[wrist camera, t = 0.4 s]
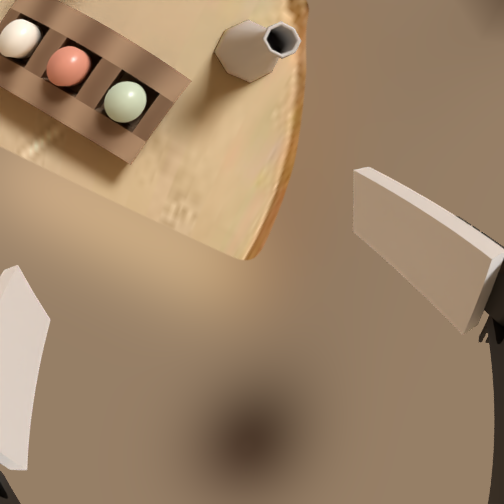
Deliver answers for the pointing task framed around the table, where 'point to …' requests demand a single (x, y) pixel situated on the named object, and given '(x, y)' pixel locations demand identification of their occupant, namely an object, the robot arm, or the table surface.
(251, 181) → the table surface
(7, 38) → the button ivory
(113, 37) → the console
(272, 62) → the flask
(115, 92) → the button sage
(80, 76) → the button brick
